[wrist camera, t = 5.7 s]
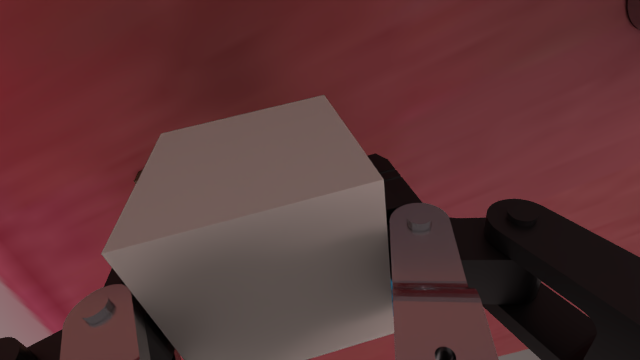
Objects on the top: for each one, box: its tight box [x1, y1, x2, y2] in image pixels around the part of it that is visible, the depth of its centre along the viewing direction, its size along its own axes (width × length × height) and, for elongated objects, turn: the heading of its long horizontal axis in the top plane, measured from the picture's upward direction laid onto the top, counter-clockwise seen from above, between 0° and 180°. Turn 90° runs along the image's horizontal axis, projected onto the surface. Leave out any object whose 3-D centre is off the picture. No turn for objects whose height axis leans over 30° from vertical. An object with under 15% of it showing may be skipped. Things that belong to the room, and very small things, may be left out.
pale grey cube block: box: [101, 95, 394, 360], centre depth 9 cm, size 5×5×5 cm
